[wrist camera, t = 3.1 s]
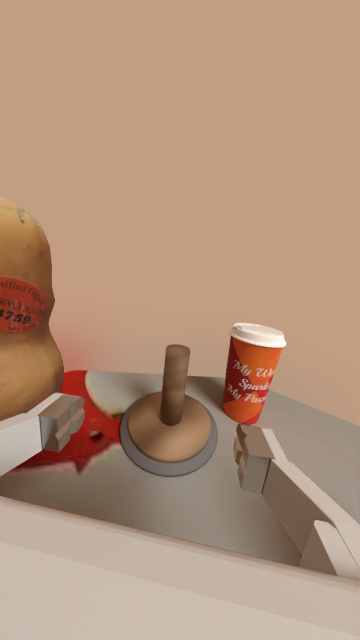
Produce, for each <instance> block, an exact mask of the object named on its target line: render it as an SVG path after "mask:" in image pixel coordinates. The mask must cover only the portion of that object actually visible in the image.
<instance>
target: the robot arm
mask: <svg viewBox="0 0 360 640" xmlns="http://www.w3.org/2000/svg"><path fill="white" fill-rule="evenodd" d="M84 404H85V402H84V398H82V397H78V396H73V395H68V394H62V393H54V394H52V395H51V396H49V397H48V398H47V399H45V400H44V401H43V402H41V403H40V404H38V405H37V406H36V407H34V408H33V409H32V410H30V411H29V412H28V413H26V414H25V413H22V414H19V415H16V416H14V417H11V418H8V419H5V420H3V421H0V476H2V475H4V474H5V473H7V472H8V471H10V470H11V469H13V468H15V467H16V466H18V465H19V464H21V463H23V462H24V461H26V460H27V459H29V458H30V457H32V456H34V455H35V454H37V453H38V452H40V451H42V449H45V450H51V451H57V452H60V451H61V449H62V448H63V447H64V446H65V445H66V444H67V442H68V441H69V440H70V435H71V434H73V433H75V432H77V430H78V429H79V428H80V427H81V425H82V423H83V421H84V417H85V411H84V409H83V408H82V407H83V405H84ZM236 431H237V435H238V436H237V437H236V438H235V440H234V457H235V462H236V463H237V464H238V465H239V467H238V476H239V481H240V486H241V489H243V490H247V491H251V492H256V493H260V494H262V496H263V498H264V499H265V501H266V502H267V504H268V505H269V507H270V508H271V509H272V511H273V512H274V514H275V515H276V517H277V518H278V520H279V521H280V523H281V524H282V526H283V527H284V529H285V530H286V532H287V533H288V535H289V536H290V538H291V539H292V541H293V542H294V544H295V545H296V547H297V548H298V550H299V551H300V553H301V554H302V557H301V560H300V563H299V566H298V567H297V566H292V565H288V564H284V563H280V562H276V561H271V560H267V559H263V558H259V557H255V556H250V555H246V554H242V553H238V552H234V551H229V550H225V549H221V548H217V547H212V546H208V545H204V544H200V543H196V542H191V541H187V540H183V539H179V538H175V537H170V536H166V535H162V534H158V533H153V532H149V531H145V530H141V529H137V528H132V527H128V526H124V525H120V524H116V523H111V522H107V521H103V520H99V519H94V518H90V517H86V516H82V515H78V514H73V513H69V512H65V511H61V510H57V509H52V508H48V507H44V506H40V505H36V504H31V503H27V502H23V501H19V500H15V499H10V498H6V497H2V496H0V640H360V525H359V524H358V523H357V522H356V521H355V520H354V519H353V518H352V517H351V516H349V515H348V514H347V513H346V512H345V511H344V510H343V509H342V508H341V507H340V506H339V505H337V504H336V503H335V502H334V501H333V500H332V499H331V498H330V497H329V496H328V495H327V494H325V493H324V492H323V491H322V490H321V489H320V488H319V487H318V486H317V485H316V484H315V483H313V482H312V481H311V480H310V479H309V478H308V477H307V476H306V475H305V474H304V473H303V472H301V471H300V470H299V469H298V468H297V467H296V466H295V465H294V464H293V463H290V462H288V460H287V458H286V456H285V454H284V452H283V450H282V449H281V447H280V445H279V443H278V441H277V439H276V437H275V435H274V433H273V431H272V430H271V429H270V428H263V427H255V426H249V425H243V424H238V426H237V430H236Z"/></svg>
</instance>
